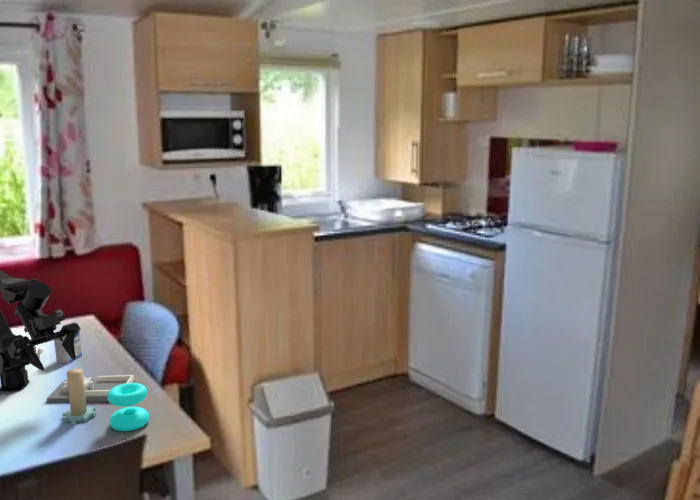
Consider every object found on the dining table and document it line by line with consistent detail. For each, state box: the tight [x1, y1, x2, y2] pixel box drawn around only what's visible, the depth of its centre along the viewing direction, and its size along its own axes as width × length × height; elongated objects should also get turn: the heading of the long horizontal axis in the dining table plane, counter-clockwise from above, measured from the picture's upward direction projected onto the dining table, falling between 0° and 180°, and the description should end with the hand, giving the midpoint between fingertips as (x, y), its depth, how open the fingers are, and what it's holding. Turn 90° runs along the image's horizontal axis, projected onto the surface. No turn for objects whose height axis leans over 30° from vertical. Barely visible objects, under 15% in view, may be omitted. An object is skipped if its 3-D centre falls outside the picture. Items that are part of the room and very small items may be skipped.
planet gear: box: [61, 368, 97, 425], centre depth 177 cm, size 8×8×13 cm
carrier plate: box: [46, 374, 136, 403], centre depth 193 cm, size 21×13×4 cm, turn 92°
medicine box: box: [53, 331, 83, 365], centre depth 219 cm, size 8×4×9 cm, turn 168°
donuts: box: [107, 382, 150, 432], centre depth 173 cm, size 10×10×10 cm
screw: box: [34, 345, 44, 359], centre depth 220 cm, size 13×5×5 cm
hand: (59, 364), depth 180 cm, fingers open, 9 cm apart
